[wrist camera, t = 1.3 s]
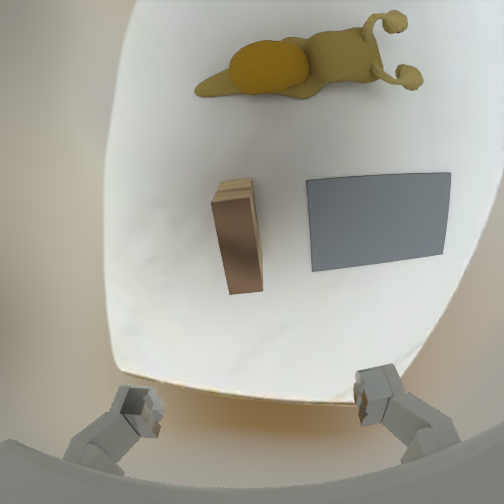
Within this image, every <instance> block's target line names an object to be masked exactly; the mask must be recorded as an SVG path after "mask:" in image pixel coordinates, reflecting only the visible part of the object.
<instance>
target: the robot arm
mask: <svg viewBox="0 0 504 504" xmlns="http://www.w3.org/2000/svg"><path fill="white" fill-rule="evenodd" d="M355 378H356V383H355V384H354V389H353V391H354V400H355V404H356V406H357V407H359V413H358V415H359V419H360V423H361V426H362V427H363V426H368V425H373V424H377V423H381V424H383V425H384V426H385V427H386V428H387V429H388V430H389V431H390V432H391V433H393V434H394V435H395V436H396V437H397V438H398V439H399V440H401V441H402V442H403V443H404V444H405V445H406V446H407V447H408V449H407V450H406V452H405V453H404V455H403V457H402V458H401V464H400V465H397V466H394V467H390V468H387V469H383V470H379V471H375V472H371V473H367V474H363V475H358V476H353V477H348V478H343V479H337V480H331V481H325V482H318V483H311V484H303V485H293V486H281V487H264V488H214V487H197V486H184V485H175V484H167V483H159V482H153V481H147V480H140V479H135V478H130V477H125V476H124V471H123V470H122V469H121V468H120V467H119V466H118V465H117V464H116V463H117V462H118V461H119V460H120V459H121V458H122V457H123V456H124V455H125V454H126V453H127V452H128V451H129V450H130V449H131V448H132V447H133V445H134V444H135V443H136V442H137V441H138V440H139V439H140V437H146V438H158V435H159V432H160V428H161V426H160V424H159V421H160V420H161V419H162V418H163V416H164V403H163V401H162V399H161V398H160V397H159V396H157V390H156V389H155V387H150V386H137V385H124V384H122V385H121V386H120V387H119V389H118V392H117V394H116V397H115V399H114V401H113V403H112V406H111V408H110V411H109V412H105V413H104V414H103V415H102V416H100V417H99V418H98V419H97V420H95V421H94V422H93V423H91V424H90V425H89V426H87V427H86V428H85V429H83V430H82V431H81V432H79V433H78V434H77V435H75V436H74V437H73V438H72V439H71V441H70V443H69V446H68V448H67V450H66V453H65V455H64V458H63V459H59V458H57V457H54V456H51V455H48V454H46V453H43V452H40V451H38V450H36V449H33V448H31V447H28V446H26V445H24V444H22V443H19V442H17V441H15V440H12V439H8V440H5V441H3V442H1V443H0V504H504V421H503V422H501V423H499V424H497V425H495V426H493V427H492V428H490V429H488V430H486V431H484V432H482V433H480V434H478V435H475V436H473V437H471V438H469V439H467V440H465V441H462V442H461V440H460V438H459V435H458V433H457V431H456V429H455V426H454V424H453V422H452V420H451V418H450V417H448V416H447V415H445V414H443V413H442V412H440V411H439V410H437V409H435V408H433V407H432V406H431V405H429V404H427V403H426V402H424V401H423V400H421V399H420V398H418V397H416V396H414V395H413V394H412V393H410V392H408V393H406V391H405V389H404V386H403V384H402V382H401V379H400V377H399V375H398V373H397V370H396V368H395V366H394V365H393V364H388V365H383V366H378V367H373V368H368V369H364V370H359V371H357V372H356V375H355Z"/></svg>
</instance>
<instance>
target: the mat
mask: <svg viewBox="0 0 504 504" xmlns="http://www.w3.org/2000/svg"><path fill="white" fill-rule="evenodd" d="M306 181H307V193H308V207H309V221H310V237H311V256H312V272H316V271H324V270H332V269H340V268H348V267H356V266H363V265H371V264H378V263H386V262H393V261H400V260H407V259H414V258H421V257H427V256H434V255H440V254H443V249H444V242H445V235H446V228H447V220H448V210H449V200H450V187H451V173H410V174H387V175H369V176H354V177H340V178H328V179H317V180H306Z"/></svg>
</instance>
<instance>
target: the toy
mask: <svg viewBox="0 0 504 504" xmlns="http://www.w3.org/2000/svg"><path fill="white" fill-rule="evenodd" d="M379 18H380V19H382V20H383V21H382V26H383V28H384V30H385V31H386V32H388V33H389V34H392V33H400V32H403V31H404V30H406V29H407V26H408V21H407V17H406V16H405V15H403V14H402V13H401V12H399V11H397V10H392V11H390V12H388V13H387V14H372V15H371V16H370V17H369V18H368V19H367V21H366V22H365V24H364V26H363V28H351V29H347V30H344V31H327V32H321V33H318V34H315V35H314V36H312V37H311V38H309V39H303V38H297V37H288V38H285V39H283V40H281V41H272V40H264V41H259V42H255V43H252V44H249V45H247V46H245V47H243V48H241V49H240V50H239V51H238V52H237V53H236V54H235V55H234V56H233V58H232V59H231V61H230V65H229V69H226V70H224V71H222V72H220V73H218V74H216V75H214V76H212V77H210V78H208V79H206V80H205V81H203V82H202V83H200V84H199V85H198V86H197V87H196V88H195V91H194V92H195V94H196V95H197V96H200V97H213V96H222V95H232V94H250V95H257V94H279V95H286V96H290V97H294V98H300V99H305V98H309V97H311V96H313V95H315V94H317V93H318V92H319V91H320V90H321V89H322V88H323V87H324V86H325V84H326V83H333V82H343V81H352V82H357V83H368V82H373V81H376V80H378V79H382V80H383V81H385V82H387V83H390V84H395V85H402V86H403V87H404V88H406V89H408V90H411V91H413V90H417V89H418V88H419V86H421V85H422V84H423V82H424V81H423V78H422V75H421V73H420V72H419V70H418V69H417V68H415V67H413V66H409V65H404V64H402V65H398V67H397V69H396V71H395V72H396V77H397V79H394V78H392V77H391V76H390V75H388V74H387V73H386V72H384V71H383V65H382V61H381V57H380V54H379V50H378V46H377V42H376V39H375V37H374V35H373V34H372V30H373V25H374V24H375V22H376V20H378V19H379Z"/></svg>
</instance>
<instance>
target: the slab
mask: <svg viewBox="0 0 504 504" xmlns="http://www.w3.org/2000/svg"><path fill="white" fill-rule="evenodd" d="M211 206H212V211H213V216H214V221H215V226H216V231H217V236H218V241H219V246H220V251H221V256H222V261H223V266H224V270H225V275H226V280H227V285H228V289H229V294H230V295H232V294H242V293H252V292H262V291H263V271H262V251H261V244H260V237H259V230H258V223H257V215H256V208H255V201H254V194H253V187H252V180H251V178H248V179H240V180H233V181H226V182H221V183H220V185H219V187H218V189H217V192H216V194H215V196H214V198H213V200H212V202H211Z"/></svg>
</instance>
